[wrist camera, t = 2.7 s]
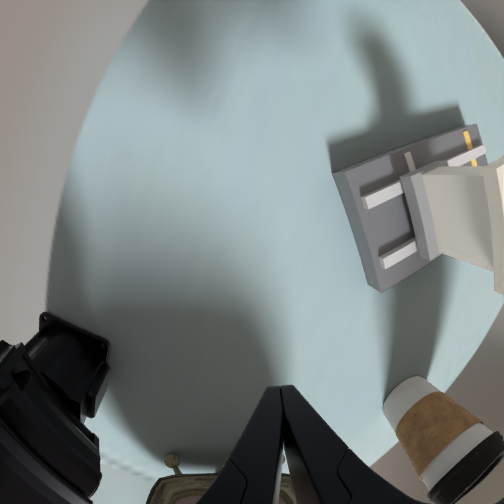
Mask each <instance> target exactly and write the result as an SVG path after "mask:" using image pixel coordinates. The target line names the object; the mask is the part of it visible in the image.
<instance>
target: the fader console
mask: <svg viewBox="0 0 504 504" xmlns="http://www.w3.org/2000/svg"><path fill="white" fill-rule="evenodd" d="M485 153H487V151H486V148H485V144H482V140H481V137H480V133H479V130H478V127H477V124H472V125H465V126H461V127H458V128H455V129H452V130H449V131H446V132H443V133H440V134H437V135H434V136H431V137H428V138H425V139H422V140H419V141H417V142H414V143H411V144H408V145H405V146H403V147H400V148H397V149H394V150H392V151H389V152H386V153H384V154H381V155H378V156H376V157H373V158H370V159H368V160H365V161H362V162H360V163H357V164H355V165H352V166H350V167H347V168H344V169H342V170H339V171H337V172H334V173H332V175H333V177H334V180H335V182H336V185H337V188H338V191H339V193H340V196H341V199H342V202H343V205H344V207H345V210H346V213H347V216H348V219H349V222H350V225H351V228H352V231H353V235H354V238H355V241H356V244H357V247H358V251H359V254H360V257H361V261H362V264H363V268H364V271H365V275H366V279H367V282H368V285H370V286H371V287H373V288H374V289H376V290H378V291H379V292H381V293H382V292H383V291H385V290H387V289H388V288H390V287H392V286H393V285H395V284H397V283H398V282H400V281H402V280H403V279H405V278H407V277H408V276H410V275H411V274H413V273H415V272H416V271H418V270H419V269H421V268H422V267H424V266H426V265H427V264H429V263H430V262H432V261H433V260H435V259H436V258H438V257H439V256H441V255H442V253H441V254H440V255H438V256H437V257H435V258H434V259H432V260H431V261H429V260H426V259H423V258H421V257H420V256H419V251H418V246H417V241H416V236H415V232H414V227H413V223H412V219H411V215H410V211H409V207H408V204H407V200H406V196H405V193H404V189H403V186H402V183H401V179H400V176H402V175H405V174H407V173H409V172H412V171H414V170H416V169H419V168H421V167H423V166H426V165H428V164H430V163H432V162H435V161H443V160H447V162H448V165H449V166H486V165H488V164H487V159H486V155H485Z"/></svg>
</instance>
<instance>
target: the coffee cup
mask: <svg viewBox="0 0 504 504" xmlns="http://www.w3.org/2000/svg"><path fill="white" fill-rule="evenodd" d="M383 413H384V415H385V417H386V418H387V420H388V421H389V423H390V425H391V426H392V428H393V430H394V431H395V433H396V436H397V438H398V439H399V441H400V443H401V445H402V447H403V448H404V450H405V452H406V454H407V456H408V458H409V460H410V461H411V463H412V465H413V467H414V469H415V470H416V473H417V475H418V476H419V478H420V480H423V481H424V483H425V484H426V486H427V488H428V490H429V493H428V495H427V497H428V498H430V501H431V502H434V503H435V504H455V503H456V502H458V501H459V500H460V499H461V498H463V497H464V496H465V495H466V494H468V493H469V492H470V491H471V490H473V489H474V488H475V487H476V486H477V485H478V484H479V483H481V482H482V481H483V480H484V479H485V478H486V477H487V476H488V475H489V474H490V473H491V472H492V471H493V470H494V469H495V467H496V466H497V465H498V464H499V463H500V462H501V460H502V459H503V457H504V441H503V437H502V435H500V433H499V432H498V431H496V432H494V433H493V432H491V431H490V430H489V429H488V428H486V427H485V426H484V425H483V422H482V421H481V420H480V419H478V418H477V417H476V416H474V415H473V414H471V413H470V412H469V411H467V410H466V409H465V408H463V407H462V406H461V405H459V404H458V403H456V402H455V401H454V400H452V399H451V398H450V397H448V396H447V395H446V394H444V393H443V392H441V391H439V390H438V389H437V388H436V387H434V386H433V385H432V384H431V383H429V382H428V381H427V380H425V379H424V378H423V377H420V376H414V377H411V378H408V379H406V380H404V381H403V382H401V383H400V384H399V385H398V386H396V387H395V388H394V389H393V390H392V392H391V393H390V394H389V395H388V397H387V398H386V400H385V402H384V405H383Z"/></svg>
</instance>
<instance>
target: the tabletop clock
mask: <svg viewBox="0 0 504 504" xmlns="http://www.w3.org/2000/svg"><path fill="white" fill-rule="evenodd" d="M164 462H165V464H166V465H167V466H168V467H170V468H173V469H174V472H175V475H171V476H167V477H162V478H159V479H158V480H157V482H156V483H155V485H154V486H153V487H152V489H151V491H150V494H149V496H148V499H147V501H146V504H195V503H196V502H197V501H198V500H199V499H200V498H201V497H202V495H203V494H204V493H205V492H206V491H207V490H208V488H209V487H210V486H211V485H212V483H213V482H214V481H215V479H216V478H217V476H218V475H219V473H207V474H182V473H181V471H180V470H179V468H178V466H179V464H180V460H179V458H178V457H177V456H176V455H175V454H168V455H166V456H165V458H164ZM284 462H285V457H284V455H283V458H282V464H283V463H284ZM278 504H297V502H296V497H295V493H294V489H293V485H292V480H291V476H290V474H285V473H281V481H280V492H279V502H278Z"/></svg>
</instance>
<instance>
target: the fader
mask: <svg viewBox="0 0 504 504" xmlns="http://www.w3.org/2000/svg"><path fill="white" fill-rule="evenodd" d="M400 179H401V183H402V186H403V189H404V193H405V196H406V200H407V204H408V207H409V211H410V215H411V219H412V223H413V227H414V232H415V236H416V241H417V246H418V251H419V256H420V257H421V258H423V259H426V260H429V261H431V260H432V259H434V258H435V257H437V256H438V255H440V254H441V253H442V254H445V255H448V256H451V257H454V258H456V259H459V260H462V261H465V262H468V263H470V264H473V265H476V266H479V267H481V268H484V269H487V270H489V271H492V272H494V291H496V292H498V293H500V294H502V295H504V156H503V157H501V158H499V159H497V160H495V161H494V162H492V163H490V164H488V165H486V166H449V165H448V162H447V160H443V161H435V162H432V163H430V164H428V165H426V166H423V167H421V168H419V169H416V170H414V171H412V172H409V173H407V174H405V175H402V176H400Z"/></svg>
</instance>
